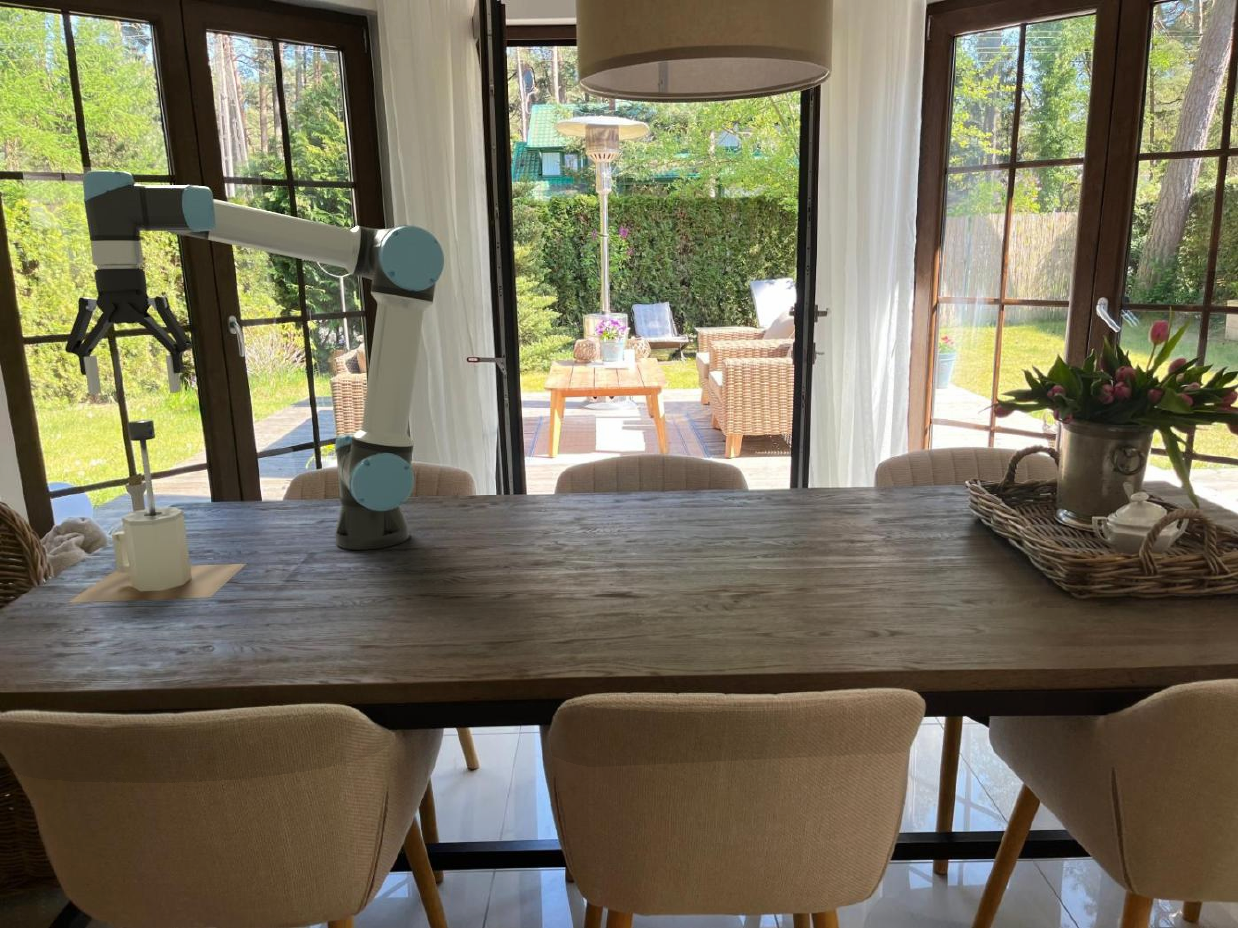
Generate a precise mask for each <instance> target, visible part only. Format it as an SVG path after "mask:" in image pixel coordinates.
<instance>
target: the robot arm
mask: <svg viewBox="0 0 1238 928" xmlns="http://www.w3.org/2000/svg"><path fill="white" fill-rule="evenodd" d="M82 186H83V187H82V188H83V196H84V197H83V202H84V209H85V215H86V216H85V217H86V220H87V228H88V234H89V241H90V242H89V243H90V249H91V257H92V258H91V259H92V260H91V261H92V265H94V266H96V267H97V269H95V271H94V272H93V273H94V274H93V275H94V280H95V287H96V291H97V298H93V297H91V296H88V297H87V296H86V297H85V296H84V297H79V298H78V301H77V302H78V303H77V305H78V312H77V314H76V317H75V319H74V323H73V325H72V329H71V331H70V334H69V336H68V340H67V341H66V345H65V348H64V350H65V352H66V353H68V354H69V353H70V354H73V355H76V356H77V358H78V363H79V369H80V373H81V375H82V376H86V382H87V383H86V384H87V390H88V396H95V395H98V394H102V387H101V378H100V373H99V366H98V359H97V355H96V354H95V355H93V351H94V350H95V349H96V347H97V346H98V344H99V343H100V341H102V338H103V337H104V336H105V335H106V333H107V331H108V330H109V329H110V327H111V326H113V325H114V324H115V325H119V324H128V325H130V324H139V325H140V326H142V327H143V328H145V329H146V330H147V331H148V332H149V334H151V336H152V337H154V339H156V340H157V341H158V342H159V343H160V344H161V346H162V347H163V348H165V350H167V352H169V353H168V354H165V362H166V369H167V371H166V372H167V379H168V387H169V393H170V394H177V393H179V392H182V386H181V378H180V374H181V373H184V370H185V369H184V360H183V359H184V358H183V354H184V352H186V351H190V350H192V349H193V348H194V346H193V342H192V341H191V339H190V338H189V337H188V335H187V333H186V331H185V330H184V329H183V327H182V325H181V324H180V323H179V320H178V319H177V318H176V316H175V315H174V313H173V311H172V310H171V307H170V303H169V299H168V296H166V295H158V296H155V297H149V294H148V291H147V290H148V286H147V278H146V271H145V270H144V269H143V268H141V266H143V265H144V264H145V263H144V257H143V250H142V249H143V247H142V238H141V231H143V232H169V233H170V234H173V235H177V236H186V237H187V236H188V237H192V238H197V239H202V240H209V241H213V242H217V243H218V242H219V243H223V244H229V245H232V246H237V247H242V248H245V249H246V248H247V249H251V250H257V251H261V252H267V253H270V254H271V253H272V254H277V255H279V256H280V255H282V256H286V257H291V258H296V259H301V260H306V261H309V262H314V263H319V264H324V265H328V266H329V265H330V266H335V267H340V268H344V269H345V270H346V272H348V274H349V275H352V276H358V277H361V278H365V279H369V280H372V281H371V286H370V287H371V288H370V294H371V296H372V297H373V299H374V300H375V301H376V304H377V307H376V312H375V313H376V315H375V320H374V321H375V322H374V328H373V329H374V330H373V337H372V344H371V354H370V361H369V369H368V377H367V384H366V390H365V392H366V394H365V398H364V399H365V401H364V407H363V408H364V409H363V416H362V423H361V427H360V429H358V430H357V431H356V432H355V433H350V434H349V433H348V434H341V435H338V436H337V437H336V439H335V448H334V452H335V454H336V463H337V464H336V465H337V475H338V487H339V497H340V499H339V500H340V510H339V514H338V519H337V523H336V527H335V531H334V541H335V545H336V546H338V547H339V548H343V549H345V550H356V551H357V550H361V551H365V550H377V549H382V548H388V547H392V546H396V545H399V544H401V543H403V542H405V541H407V540H408V539H410V532H409V531H410V530H409V527H410V526H409V524H408V522H407V519H406V517H405V515H404V513H403V510H402V508H401V505H402V504H404V503H405V502H406V501H407V500H408V499H409V498H410V496H411V494H412V492H413V489H414V483H415V479H414V478H415V477H414V475H415V474H414V471H413V468H412V459H413V452H414V451H413V450H414V441H413V440H412V438H411V437H410V436H409V434H408V430H409V429H408V427H409V420H410V414H411V408H412V406H411V405H412V399H413V390H414V385H415V379H416V378H415V377H416V370H417V362H418V354H419V347H420V341H421V340H420V339H421V332H422V325H423V318H424V312H425V311H426V309H428V308H429V307H430V306H432V305H433V304H434V297H435V291H436V284H437V282H438V280H439V279H440V277H441V276H442V273H443V271H444V267H445V255H444V251H443V249H442V246H441V244H440V243H439V241H438V239H437V238H436V237H435V236H434V235H433V234H432V233H431V232H429V231H428V230H426V229H424V228H422V227H419V226H415V225H409V224H408V225H407V224H402V225H401V224H400V225H398V226H394V227H392V228H371V227H364V226H360V225H356V226H355V227H353V228H345V227H341V226H337V225H333V224H328V223H324V222H318V221H314V220H308V219H304V218H300V217H295V216H291V215H287V214H283V213H282V214H281V213H277V212H274V211H273V212H272V211H268V210H264V209H260V208H254V207H251V206H246V205H241V204H238V203H237V204H236V203H233V202H229V201H223V200H219V199H214V196H213V195H214V194H213V192H212V189H211V188H209V187H208V186H201V185H200V186H199V185H193V184H187V185H150V184H149V185H148V184H147V185H145V184H140V183H139V184H137V183H136V182H135V179H134V176H133V175H132V174H131V172H128V171H124V170H123V171H119V170H117V171H116V170H91V171H90V170H89V171H86V173H85V174H84V175H83V177H82ZM151 306H152V308H153V309H154V310H155V311H157V313H158V316H159V318H161V320H162V322H163V323H164V325H165V327H166V328H167V329H168V332H169V333H170V334H171V335H170V334H169V333H168V332H167V331H166V330H165V329H164V328H163V327H162V326H161V325H160V324H159V323H158V322H157V321H156V320H155V318H154V316H152V314H150V313H149V312H148V311H149V309H150V307H151ZM97 308H98V309H99V310H100V311H101V312H102V313H101V314H100V315H99V317H98V319H97V321H96V323H95V325H94V326H93V327H92V329H91V331H90V332H89V334H87V336H86V333H87V331H88V328H89V326H90V322H91V319H92V317H93V314H94V311H96V309H97ZM85 336H86V337H85Z"/></svg>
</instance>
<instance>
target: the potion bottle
mask: <svg viewBox="0 0 1238 928" xmlns="http://www.w3.org/2000/svg"><path fill="white" fill-rule="evenodd" d="M127 482H128V483H126V484H124V486H125V489H126V492H127V493H128V494H129V496H130V498H131V505H132V510H133V511H132V512H135V511H140V510H145V509H146V506H145V505H146V504H145V497H144V496H145V495H144V494H145V492H146V483H145V481H143V479H142V473H141V472H140V473H137V474H134V475H131V476H129V477H127Z"/></svg>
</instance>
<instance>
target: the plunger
mask: <svg viewBox="0 0 1238 928" xmlns="http://www.w3.org/2000/svg"><path fill="white" fill-rule="evenodd" d="M127 429H128V430H127V432H128V437H129V441H131V442H132V441H133V442H137V441H138V442H139V445H140V453H141V461H142V467H143V468H142V469H143V475H144V482H145V483H146V490H145V492H146V496H147V498H146V499H147V504H148V509H149V512H150V516H156V510H155V508H156V504H155V498H154V497H155V496H154V491H153V490H154V488H153V483H152V475H151V468H150V467H151V465H150V460H149V450H148V444H147V441H148V440H153V439H156V433H155V425H154V420H153V419H138V420H132V421H129V422H127Z"/></svg>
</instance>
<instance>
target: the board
mask: <svg viewBox="0 0 1238 928" xmlns="http://www.w3.org/2000/svg"><path fill="white" fill-rule="evenodd" d="M246 565H247V563H233V564H231V563H230V564H204V565H203V564H201V565H190V567H191V575H192V578H191V579H190V580H188V581H187V582H186V583H185V584H184V585H181V586H177V587H173V588H169V589H166V590H161V591H139V590H137V589H135V588H134V587H132V584H131V577H130V572H128V573H121V572H117V569H115V570H114V571H112V572H111V573H109V574H108V575H107V576H105V577H103V578H102V579H100V580H99V581H97V582H96V583H95V584H93V585H92V586H90V587H89V588H87V589H86V590H85V591H83V592H81V593H80V594H78V595H77V596H76V597H74V598H72V599H71V600H69V601H67V604H75V603H76V604H79V603H81V604H83V603H98V602H99V603H105V602H110V603H111V602H129V601H132V602H133V601H134V602H135V601H158V600H162V601H163V600H181V599H182V600H184V599H185V600H186V599H209V598H212V597H213V596H214V595H216V593H218V591H219V590H221V589H222V588H223V587H224V586H225V585H226V584H227V583H228V582H229V581H230V580H231V579H232V578H234V577H235V576H236V575H237V574H238V573H239V572H240V571H241V570H242V569H243V568H244V567H245V566H246Z"/></svg>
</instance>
